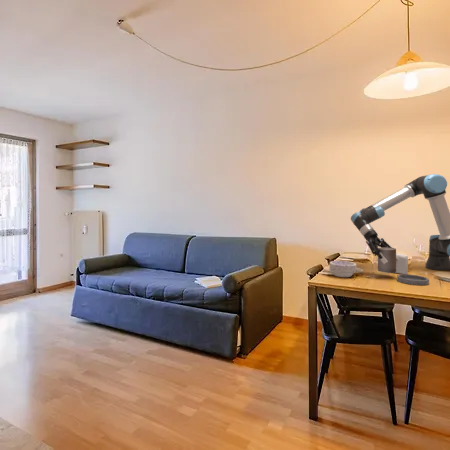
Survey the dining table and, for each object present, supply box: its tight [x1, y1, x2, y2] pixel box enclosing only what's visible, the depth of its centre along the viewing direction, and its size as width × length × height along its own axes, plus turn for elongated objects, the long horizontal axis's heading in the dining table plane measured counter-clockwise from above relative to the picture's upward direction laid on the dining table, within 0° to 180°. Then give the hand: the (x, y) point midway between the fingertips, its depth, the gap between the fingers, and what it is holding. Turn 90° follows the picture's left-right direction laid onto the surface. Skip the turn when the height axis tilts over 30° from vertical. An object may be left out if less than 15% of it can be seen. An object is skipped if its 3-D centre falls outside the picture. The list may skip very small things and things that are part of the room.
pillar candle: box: [377, 246, 397, 274], centre depth 185 cm, size 10×10×15 cm
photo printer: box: [392, 252, 409, 275], centre depth 196 cm, size 10×4×12 cm, turn 39°
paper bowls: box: [329, 260, 357, 278], centre depth 188 cm, size 15×15×8 cm
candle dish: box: [396, 274, 430, 286], centre depth 174 cm, size 15×15×2 cm
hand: (391, 262), depth 182 cm, fingers closed on pillar candle, 9 cm apart
